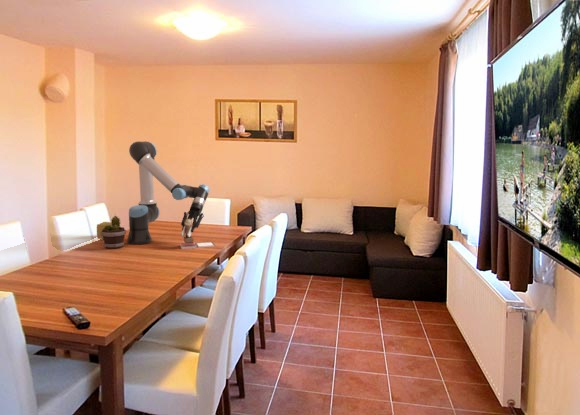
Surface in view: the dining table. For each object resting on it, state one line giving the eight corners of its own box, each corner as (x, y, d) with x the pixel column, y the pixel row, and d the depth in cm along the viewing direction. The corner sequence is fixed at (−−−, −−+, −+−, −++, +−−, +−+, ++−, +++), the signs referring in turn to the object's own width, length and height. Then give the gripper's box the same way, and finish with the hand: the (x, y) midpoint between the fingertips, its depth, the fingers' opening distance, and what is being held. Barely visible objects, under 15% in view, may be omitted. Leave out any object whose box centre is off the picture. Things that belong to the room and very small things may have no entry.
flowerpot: (118, 250, 265) (117, 217, 262) (95, 249, 268) (94, 216, 265) (131, 245, 279) (130, 214, 276) (109, 243, 282) (108, 212, 279)
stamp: (183, 241, 280) (183, 218, 278) (192, 240, 281) (191, 217, 279) (185, 243, 273) (184, 220, 271) (193, 242, 275) (192, 219, 273)
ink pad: (179, 245, 280) (179, 243, 280) (194, 244, 283) (194, 242, 283) (181, 248, 272) (181, 246, 272) (196, 247, 275) (196, 245, 275)
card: (195, 243, 287) (195, 242, 287) (212, 242, 290) (212, 241, 290) (197, 247, 276) (197, 246, 276) (215, 246, 280) (215, 245, 280)
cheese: (118, 236, 305) (118, 222, 303) (111, 239, 294) (110, 224, 293) (104, 235, 306) (103, 221, 304) (96, 239, 295) (95, 224, 294)
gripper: (211, 209, 287) (199, 240, 274) (188, 208, 291) (175, 238, 278) (207, 202, 281) (195, 233, 268) (183, 201, 286) (171, 231, 272)
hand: (185, 235), depth 273 cm, fingers closed on stamp, 3 cm apart
